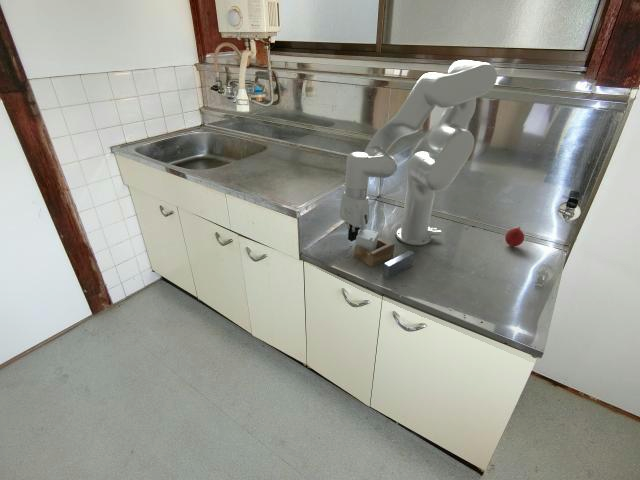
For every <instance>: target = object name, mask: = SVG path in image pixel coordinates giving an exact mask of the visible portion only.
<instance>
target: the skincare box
mask: <svg viewBox="0 0 640 480" xmlns="http://www.w3.org/2000/svg"><path fill="white" fill-rule="evenodd" d="M378 238H379V232H378V231H374V230H371V229H368V228H366V229H365V230H359V231H358V235H357V236H356V240H355V245H354V247H355V246H356V245H358V246H360V247H361V248H363V249H365V250H367V251H368V252H372V251H374V250H377V249H376V246H377V240H378Z"/></svg>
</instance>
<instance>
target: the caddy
mask: <svg viewBox="0 0 640 480" xmlns="http://www.w3.org/2000/svg"><path fill="white" fill-rule="evenodd" d="M394 251H395V242H393V241H391V242H388V241H386V240H384V239H382V238H380V237H378V240H377V246H376V250H374V251H372V252H368V251H367V250H365V249H363V248H361V247H360V246H358V245H356V246H355V245H354V251H353V256H354V258H356V259H358V260H359V261H361V262H362V263H364V264H366V265H368V266H369V267H370V268H372V267H374V266H378V264H381V263H382V262H385V261H387V260H388V259H390V258H392V257H394Z"/></svg>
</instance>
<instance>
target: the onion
mask: <svg viewBox="0 0 640 480" xmlns="http://www.w3.org/2000/svg"><path fill="white" fill-rule="evenodd" d="M504 239H505V242H506V244H507V245H509V246H510V247H511V248H514V247H518V246H520V245H521V244H522V243H523V242H524V241H525V234H524V232H523V231H522V230H521V227H520V226H516V227H515V228H511V229H510V230H508V231H507V232H506V233H505V236H504Z"/></svg>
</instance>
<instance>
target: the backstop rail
mask: <svg viewBox="0 0 640 480" xmlns="http://www.w3.org/2000/svg"><path fill="white" fill-rule="evenodd" d="M414 259H415V252H413V251H412V250H410V249H409V250H407V251H405V252H404V253H402V254H400V255H398V256H396V257H394V258H392V259H390V260H388V261H386V262H384V264H383V273H382V277H383V278H384V279H386V280H387V281H388V280H389V279H392V278H394V277H395V276H397V275H399V274H401V273H403V272H404V271H407V270H408V269H409V268H411V267H413V266H414V265H413V264H414Z"/></svg>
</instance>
